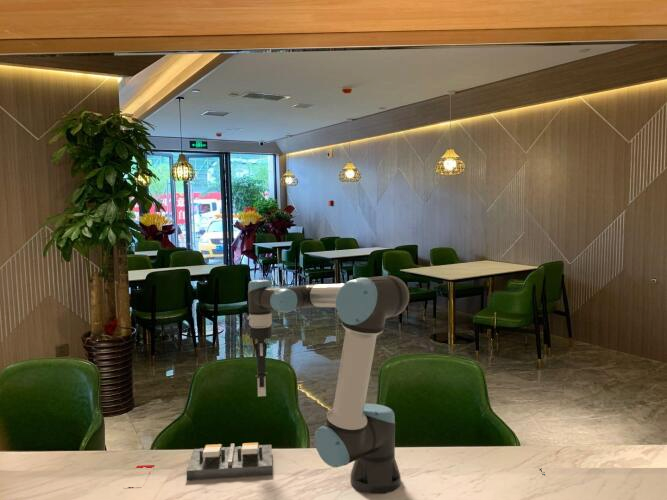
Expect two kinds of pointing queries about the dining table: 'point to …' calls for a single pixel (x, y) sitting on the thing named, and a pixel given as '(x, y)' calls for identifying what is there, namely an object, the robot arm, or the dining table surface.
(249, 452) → the breaker right
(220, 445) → the breaker left
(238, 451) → the breaker box
